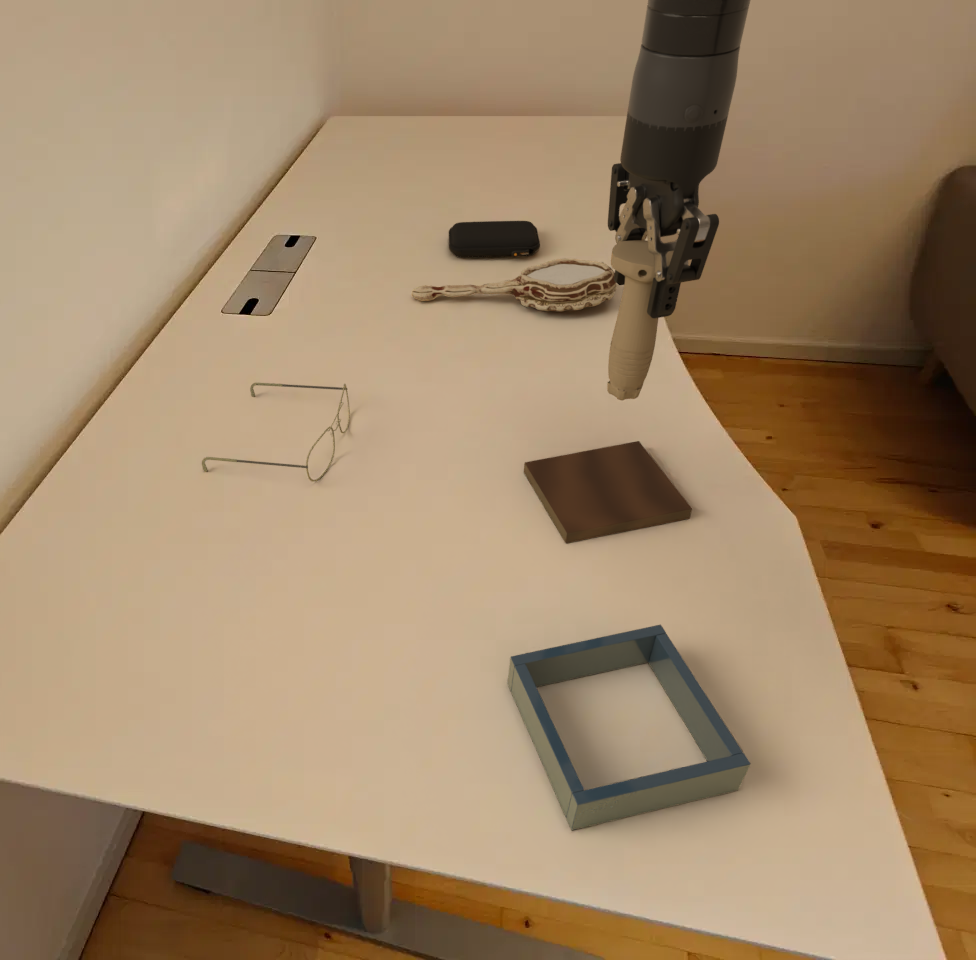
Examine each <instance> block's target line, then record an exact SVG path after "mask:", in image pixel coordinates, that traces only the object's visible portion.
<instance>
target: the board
mask: <svg viewBox="0 0 976 960" xmlns="http://www.w3.org/2000/svg"><path fill="white" fill-rule="evenodd" d="M523 474H524V476H525V477H526V479H527V481H528V482H529V484H530V486H531V488H532V489H533V491H534V493H535V495H536V496H537V498H538V499H539V501H540V503H541V505H542V506H543V508H544V510H545V512H546V513H547V514H548V516H549V518H550V520H551V521H552V523H553V524H554V526H555V528H556V529H557V532H558V533H559V535H560V536H561V538H562V540H563V541H564V543H565V544H570V543H574V542H580V541H584V540H589V539H594V538H599V537H604V536H610V535H614V534H619V533H624V532H631V531H635V530H639V529H644V528H650V527H656V526H659V525H664V524H669V523H674V522H678V521H679V522H680V521H684V520H689V519H690V518H691V515H692V510H693V507H692V506H691V505H690V503H688V501H687V500H686V499H685V497H684V496H683V495H682V494H681V492H680V491H679V490H678V488H677V486H675V485H674V483H673V482H672V481H671V480H670V478H669V477H668V475H666V473H665V472H664V471H663V469H662V468H661V466H659V464H658V463H657V462H656V460H655V459H654V458H653V457H652V455H651V454H650V453H649V452H648V451H647V449H646V448H645V447H644V445H643V444H642V443H641V442H640V441H639V440H636V441H631V442H626V443H619V444H615V445H610V446H609V445H608V446H605V447H599V448H595V449H588V450H583V451H577V452H573V453H567V454H562V455H556V456H551V457H546V458H541V459H535V460H531V461H525V462H524V465H523Z"/></svg>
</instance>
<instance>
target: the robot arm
mask: <svg viewBox="0 0 976 960" xmlns="http://www.w3.org/2000/svg"><path fill="white" fill-rule="evenodd" d="M750 4H751V0H647V5H646V11H645V18H644V24H643V31H642V36H641V37H642V38H641V44H640V48H639V53H638V57H637V61H636V64H635V67H634V70H633V75H632V81H631V86H630V92H629V100H628V105H627V106H628V107H627V113H626V121H625V126H624V132H623V139H622V145H621V152H620V162H618V163H613V165H612V167H611V175H610V187H609V198H608V199H609V201H608V213H607V228H608V230H609V231H610V232H612V231H614V232H615V235H614V236H615V237H614V240H615V243H616V244H617V243H620V242H622V241H634V240H646V239H647V241H648V251H649V252H650V253H651V254H653V255H654V271H655V278H653V283H652V288H651V293H650V298H649V303H648V308H647V313H648V315H649V316H650V317H651V318H658V319H659V318H666V317H670V316H671V315H672V314H673V313H674V312H675V310H676V308H677V307H676V306H677V302H678V299H679V293H680V289H681V284H682V283H686V282H692V281H698V280H700V279H701V277H702V275H703V271H704V269H705V265H706V263H707V260H708V257H709V255H710V251H711V248H712V246H713V243H714V240H715V237H716V234H717V232H718V228H719V225H720V218H719V215H718V214H716V213H710V214H705V213H703V211H702V210H701V209H700V208H699V204H700V197H699V196H700V195H699V187H700V184H701V182H702V181H703V180H704V179H705V178H706V177H707V176H708V175H710V174H711V173H712V172H713V171H714V170H715V169H716V168H717V165H718V162H719V157H720V152H721V148H722V144H723V140H724V135H725V130H726V127H727V122H728V118H729V112H730V108H731V104H732V100H733V95H734V92H735V87H736V82H737V77H738V76H737V75H738V69H739V68H738V67H739V66H738V65H739V57H740V49H741V44H742V41H743V34H744V31H745V26H746V21H747V16H748V12H749V8H750ZM621 205H624V206H623V208H622V210H621V212H620V208H621ZM674 235H677V239H675V240H671V241H665V242H664V241H662V239H661V238H664V237H670V236H674ZM669 251H674V252H673V255H672V258H671V261H670V265H669V266H667V261H666V254H667V252H669ZM690 260H691V261H690ZM689 261H690V264H689ZM614 273H615V274H614V281H615V282H616V285H618V286H624V285H625V276H624V275H623V274H621V273H619V272H618V271H616V270H615V269H614Z"/></svg>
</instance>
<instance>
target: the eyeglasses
mask: <svg viewBox="0 0 976 960" xmlns="http://www.w3.org/2000/svg"><path fill="white" fill-rule="evenodd" d="M256 386H263V387H280V388H281V387H282V388H283V387H284V388H301V389H302V388H303V389H320V390H321V389H322V390H335V391H336V390H338V391H342V393H341V396H340V400H339V403H338V407H337V413H336V414H335V417H334V419H333V421H332V423H331V425H330V426H328V427H327V428H326V429H324V431H323V432H322V433H321V435H320V436H319V437H318V439H316V441H315V442H314V443H313V444H312V446H311V448H310V449H309V451H308V453H307V456H306V460H305V465H303V464H302V465H301V464H290V463H279V462H267V461H258V460H257V461H255V460H243V459H237V458H225V457H215V456H206V457H203V458H202V460H201V467H202V471H203V472H208V467H207V465H206V461H208V460H209V461H218V462H219V461H220V462H228V463H229V462H230V463H244V464H252V465H253V464H255V465H265V466H278V467H289V468H298V469H299V468H301V469H305V470H306V475H307V479H308V480H309V481H310V482H317V481H319V480H320V479H321V478H322V477H323V476H324V475H325V474H326V473H327V471H328V470H329V468H330V466H331V465H332V462H333V460H334V457H335V450H336V441H335V440H336V439H335V431H337V429H338V428H339V431H340V433H341V434H345V433H346V432H347V431H348V428H349V426H350V420H351V411H350V410H351V409H350V401H349V400H350V399H349V394H348V387H347V385H346V383H344V384H343V386H342V387H339V386H338V387H337V386H322V385H321V386H319V385H301V384H299V385H298V384H285V383H274V382H272V383H271V382H253V383H252V384H251V385H250V388H249V391H250V395H251V397H253V398H255V397H256V393H255V390H254V387H256ZM344 393H345V394H346V401H347V412H348V415H347V416H348V418H347V424H346V428H345V429H344V430H343V429H342V426H341V421H342V418H340V412H341V410H342V408H343V405H344V402H343V398H344ZM336 419H337V420H336ZM334 423H335V425H336V428H335V429H334V428H333V426H334ZM330 431H331V432H330ZM327 432H330V435H332V444H333V445H332V455H331V458H330V460H329V463H328V466H327V467H326V468H325V470H324V471H323V473H322V474H321V475H320V476H318V478H316V479H312V478H311V476H310V473H309V459H310V456H311V453H312V451H313V450H314V447H315V446H316V445H317V443H319V441H320V440H321V439H322V438H323V436H324V435H325V434H326V433H327Z"/></svg>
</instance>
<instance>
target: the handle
mask: <svg viewBox="0 0 976 960" xmlns="http://www.w3.org/2000/svg"><path fill="white" fill-rule="evenodd" d="M673 252H674V251H669V252H667V254H666V261H667V266H669V265H670V261H671V258H672V255H673ZM610 265H611V268H612V270H614V271H615V270H616V271H618V272H619V273H621V274H623V275H624V276H625V285H623V290H622V295H621V299H620V303H619V304H620V305H619V308H618V312H617V316H616V319H615V324H614V328H613V333H612V336H611V340H610V347H609V353H608V365H607V373H608V374H607V375H608V379H609V380H608V381H607V383H606V384H607V385H606V389H607V393H608V394H609V395H612V396H614V397H615V398H616V399H617V400H619V401H625V400H635V399H638V398H639V396H640V393H641V391H642V388H643V386H644V383H645V380H646V378H647V376H648V373H649V370H650V368H651V364H652V360H653V357H654V356H653V355H654V352H655V347H656V340H657V332H658V324H659V318H651V317H650V316H649V315H648V313H647V308H648V303H649V298H650V293H651V288H652V283H653V278H655V271H654V255H653V254H651V253H650V252H649V251H648V240H646V239H645V240H634V241H622V242H620V243H616V244H615V245H614V246H613V247H612V250H611V256H610Z"/></svg>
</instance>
